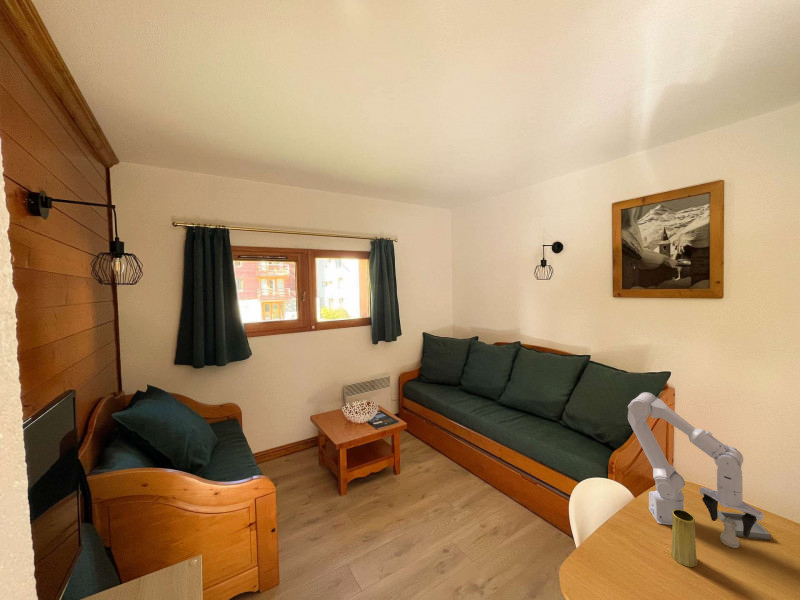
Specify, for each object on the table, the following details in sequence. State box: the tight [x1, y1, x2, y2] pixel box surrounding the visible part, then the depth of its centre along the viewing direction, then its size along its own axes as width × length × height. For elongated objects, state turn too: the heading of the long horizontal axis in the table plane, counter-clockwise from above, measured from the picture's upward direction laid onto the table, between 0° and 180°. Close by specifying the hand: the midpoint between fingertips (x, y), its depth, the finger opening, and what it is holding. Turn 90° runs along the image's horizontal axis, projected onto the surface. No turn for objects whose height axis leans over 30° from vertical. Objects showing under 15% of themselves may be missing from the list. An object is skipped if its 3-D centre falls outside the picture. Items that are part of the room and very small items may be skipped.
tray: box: [717, 510, 771, 541], centre depth 111 cm, size 9×9×2 cm
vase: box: [670, 509, 698, 568], centre depth 101 cm, size 6×6×14 cm
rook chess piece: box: [719, 517, 741, 549], centre depth 105 cm, size 4×4×8 cm
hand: (729, 527), depth 105 cm, fingers open, 7 cm apart
